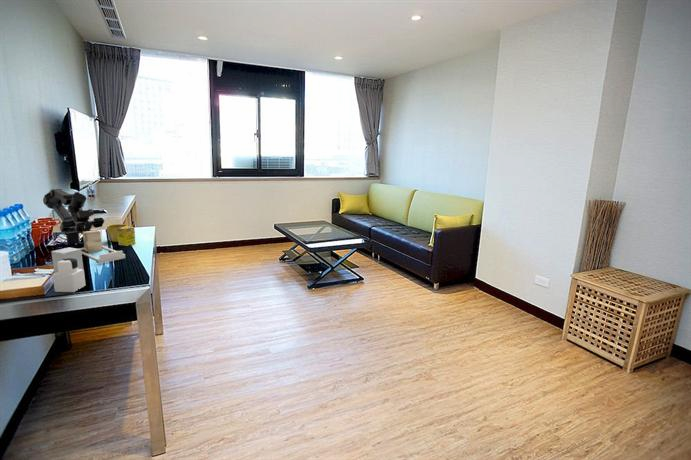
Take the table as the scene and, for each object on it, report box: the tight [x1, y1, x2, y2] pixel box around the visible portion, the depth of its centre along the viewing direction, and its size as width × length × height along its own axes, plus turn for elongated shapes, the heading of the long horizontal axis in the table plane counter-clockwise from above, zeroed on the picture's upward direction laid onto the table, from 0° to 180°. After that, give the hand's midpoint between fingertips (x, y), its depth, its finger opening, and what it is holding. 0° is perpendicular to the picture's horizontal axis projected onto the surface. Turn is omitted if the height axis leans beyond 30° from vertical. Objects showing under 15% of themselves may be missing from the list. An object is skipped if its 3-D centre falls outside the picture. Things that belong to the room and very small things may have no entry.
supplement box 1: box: [50, 246, 84, 274], centre depth 146 cm, size 7×7×13 cm
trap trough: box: [78, 244, 126, 264], centre depth 179 cm, size 26×12×4 cm, turn 57°
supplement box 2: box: [117, 225, 136, 247], centre depth 197 cm, size 6×6×11 cm
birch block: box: [82, 229, 103, 254], centre depth 182 cm, size 5×6×10 cm
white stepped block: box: [52, 258, 87, 293], centre depth 137 cm, size 7×7×12 cm
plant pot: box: [106, 223, 128, 243], centre depth 204 cm, size 10×10×10 cm
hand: (89, 237), depth 184 cm, fingers closed
